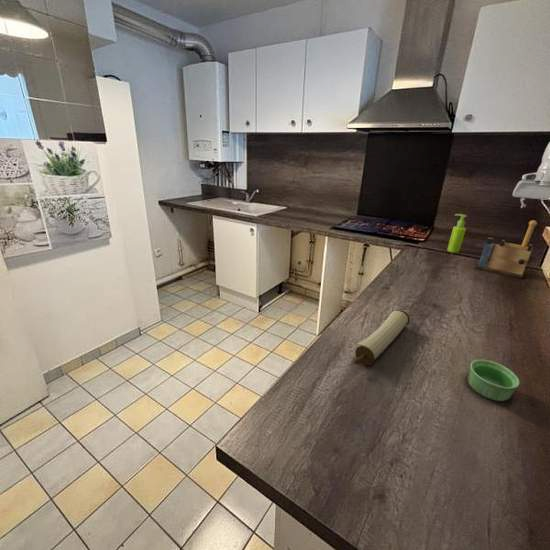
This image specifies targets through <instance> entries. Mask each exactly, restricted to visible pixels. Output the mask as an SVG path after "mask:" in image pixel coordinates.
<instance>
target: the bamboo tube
mask: <svg viewBox="0 0 550 550" xmlns="http://www.w3.org/2000/svg"><path fill="white" fill-rule="evenodd" d="M410 322H411V319H410V315H409V314H408V313H407V312H406V311H404V310H400V309H399V310H393V311H392V312H391V313H390V314H389V316H388V317H387V318H386V319H385V321H384V322H383V323H382V324H381V325H380V326H379V327H378V328H377V329H376V330H375V331H374V332H372V333H371V334H370V335H369V336H368V337H365V338H364V339H362V340H361V341H359V342H357V345H358V346H357V347H356V349H355V351H354V352H355V357H356V358H354V360H353V362H354V364H355V365H358V364H360V363H361V364H363V365H366V366H370V365H372V364H374V362H375V360H376V359H377V358H378V357H379V356H380V355H381V354H382V353H383V352H384V351H385V350H386V349H387V348H388V347H389V345H390V344H391V343H392V342H393V341H394V340H395V339H396V338H397V337H398V335H400V333H401V332H402V331H403V329H404V328H405V327H406V326H407V325H409V324H410Z"/></svg>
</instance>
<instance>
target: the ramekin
mask: <svg viewBox="0 0 550 550" xmlns="http://www.w3.org/2000/svg"><path fill="white" fill-rule="evenodd" d="M467 381H468V384H469V386H470V388H472V389H473V390H474V391H475V392H476V393H477V394H479V395H481V396H482V397H485V398H486V399H489V400H493V401H496V402H504V401H508V400H510V398H511V397H512V395H513V394H514V392H515V391H516V389H517V388H518V387H519V386H520V383H521V382H520V379H519V377H518V376H517V374H515V373H514V371H512V370H511V369H510V368H507V367H506V366H504V365H502V364H501V363H498V362H495V361H492V360H487V359H475V360H472V361H471V363H470V365H469V373H468V377H467Z"/></svg>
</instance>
